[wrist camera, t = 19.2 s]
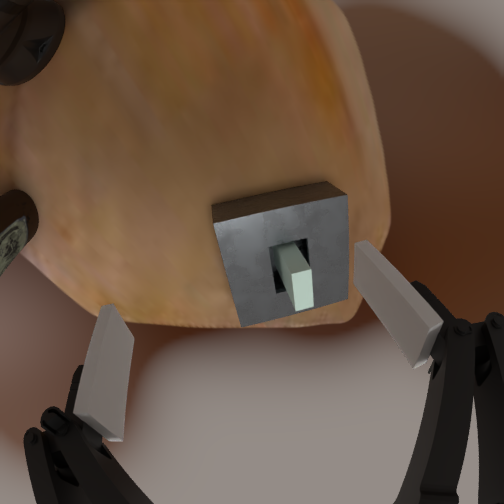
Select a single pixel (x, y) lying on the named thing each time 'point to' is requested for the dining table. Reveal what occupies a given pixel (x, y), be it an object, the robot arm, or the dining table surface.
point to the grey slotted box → (278, 232)
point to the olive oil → (15, 225)
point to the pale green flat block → (294, 274)
